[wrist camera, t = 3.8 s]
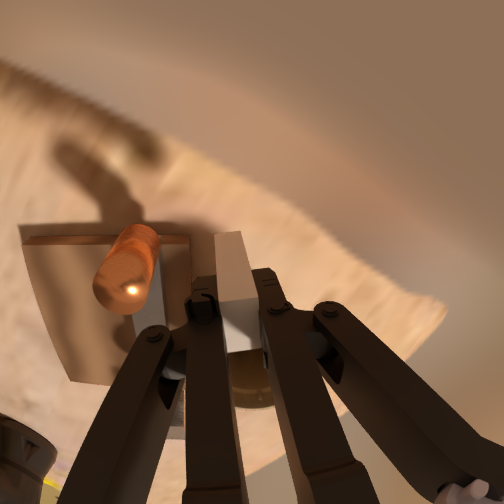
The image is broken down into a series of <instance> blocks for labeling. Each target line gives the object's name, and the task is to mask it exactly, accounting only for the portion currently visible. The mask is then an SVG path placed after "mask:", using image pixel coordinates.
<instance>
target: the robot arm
mask: <svg viewBox="0 0 504 504" xmlns="http://www.w3.org/2000/svg"><path fill="white" fill-rule="evenodd" d="M214 240H215V257H216V273H217V275H213V276H204V277H197V279H196V280H195V281H194V283H193V292H192V295H190V296H189V297H188V298H186V299H185V302H184V306H185V311H186V315H187V319H188V322H187V323H186V324H185V325H183V326H182V327H179V328H177V329H174V330H171V331H170V330H169V328H167V327H166V326H164V325H152V326H149V327H147V328H145V329H143V330H142V331H141V332H140V334H139V335H138V337H137V339H136V341H135V342H134V344H133V346H132V348H131V350H130V351H129V353H128V355H127V357H126V359H125V361H124V363H123V364H122V366H121V368H120V370H119V372H118V374H117V376H116V378H115V379H114V381H113V383H112V385H111V387H110V389H109V391H108V393H107V395H106V397H105V399H104V401H103V403H102V405H101V407H100V409H99V411H98V413H97V415H96V417H95V419H94V421H93V423H92V425H91V427H90V429H89V431H88V433H87V435H86V437H85V440H84V442H83V444H82V446H81V448H80V450H79V452H78V455H77V457H76V459H75V461H74V463H73V466H72V468H71V470H70V472H69V475H68V477H67V479H66V482H65V484H64V486H63V489H62V491H61V493H60V496H59V498H58V501H57V503H56V504H146V502H147V498H148V495H149V492H150V488H151V485H152V482H153V479H154V475H155V472H156V469H157V466H158V462H159V459H160V456H161V453H162V450H163V447H164V443H165V440H166V437H167V434H168V431H169V428H170V425H171V422H172V419H173V415H174V412H175V409H176V406H177V403H178V400H179V397H180V394H181V391H182V388H183V385H184V382H185V377H186V391H185V443H186V479H187V485H186V489H185V490H184V491H183V494H182V504H249V499H248V493H247V488H246V482H245V474H244V468H243V462H242V455H241V448H240V441H239V434H238V427H237V420H236V413H235V405H234V397H233V390H232V382H231V373H230V365H229V358H228V352H236V351H244V350H251V349H258V348H262V347H263V360H264V368H266V370H267V375H268V379H269V383H270V388H271V392H272V396H273V400H274V404H275V409H276V413H277V417H278V421H279V425H280V430H281V434H282V438H283V442H284V446H285V450H286V454H287V458H288V462H289V466H290V470H291V474H292V479H293V483H294V487H295V490H296V494H297V501H298V504H380V503H379V500H378V498H377V495H376V492H375V490H374V487H373V485H372V482H371V480H370V477H369V475H368V472H367V470H366V468H365V466H364V465H363V464H362V462H360V461H358V460H356V459H355V458H354V456H353V454H352V452H351V449H350V446H349V444H348V441H347V439H346V436H345V434H344V431H343V428H342V426H341V423H340V421H339V418H338V416H337V413H336V411H335V408H334V406H333V403H332V401H331V398H330V396H329V393H328V390H327V388H326V385H325V383H324V381H323V378H324V379H325V380H326V381H327V383H328V384H329V385H330V386H331V388H332V389H333V390H334V392H335V393H336V394H337V395H338V397H339V398H340V399H341V400H342V402H343V403H344V404H345V405H346V407H347V408H348V409H349V410H350V412H351V413H352V414H353V415H354V417H355V418H356V419H357V420H358V422H359V423H360V424H361V425H362V427H363V428H364V429H365V430H366V432H367V433H368V434H369V435H370V437H371V438H372V439H373V440H374V442H375V443H376V444H377V445H378V446H379V448H380V449H381V450H382V451H383V452H384V454H385V455H386V456H387V457H388V459H389V460H390V461H391V462H392V463H393V465H394V466H395V467H396V468H397V470H398V471H399V472H400V473H401V474H402V476H403V477H404V478H405V479H406V480H407V482H408V483H409V484H410V485H411V486H412V487H413V488H414V489H415V490H416V491H417V492H418V493H419V494H420V495H421V496H423V497H424V498H425V499H426V500H428V501H430V502H431V503H433V504H504V447H503V446H501V445H499V444H496V443H494V442H492V441H490V440H487V439H485V438H483V437H481V436H480V435H479V434H478V433H477V432H476V431H475V430H474V429H473V428H472V427H471V426H470V425H469V424H468V423H467V422H466V421H465V420H464V419H463V418H462V417H461V416H460V415H459V414H458V413H457V412H456V411H455V410H454V409H453V408H452V407H451V406H450V405H449V404H448V403H447V402H445V401H444V400H443V399H442V398H441V397H440V396H439V395H438V394H437V393H436V392H435V391H434V390H433V389H432V388H431V387H430V386H429V385H428V384H427V383H426V382H425V381H424V380H423V379H422V378H421V377H419V376H418V375H417V374H416V373H415V372H414V371H413V370H412V369H411V368H410V367H409V366H408V365H407V364H406V363H405V362H404V361H403V360H401V359H400V358H399V357H398V356H397V355H396V354H395V353H394V352H393V351H392V350H391V349H390V348H389V347H388V346H387V345H385V344H384V343H383V342H382V341H381V340H380V339H379V338H378V337H377V336H376V335H375V334H374V333H373V332H371V331H370V330H369V329H368V328H367V327H366V326H365V325H364V324H363V323H362V322H361V321H360V320H358V319H357V318H356V317H355V316H354V315H353V314H352V313H351V312H350V311H349V310H348V309H346V308H345V307H344V306H343V305H341V304H340V303H337V302H334V301H325V302H321V303H319V304H317V305H316V306H315V307H314V311H304V310H298V309H295V308H294V307H293V305H292V304H291V303H290V302H288V301H287V300H286V298H285V295H284V293H283V291H282V288H281V286H280V283H279V281H278V278H277V276H276V273H275V272H274V271H273V270H271V269H270V268H262V269H254V270H251V268H250V265H249V261H248V257H247V253H246V250H245V246H244V242H243V239H242V235H241V231H235V232H227V233H219V234H214ZM321 375H322V376H323V378H322V376H321ZM56 457H57V450H56V449H55V447H54V446H53V445H52V444H51V443H50V442H49V441H47V440H46V439H45V438H43V437H42V436H41V435H39V434H37V433H36V432H34V431H33V430H31V429H29V428H27V427H26V426H24V425H22V424H20V423H17V422H15V421H13V420H10V419H6V418H0V504H40V497H41V491H42V485H43V480H44V477H45V476H46V474H47V473H48V472H49V470H50V469H51V467H52V466H53V464H54V463H55V461H56Z"/></svg>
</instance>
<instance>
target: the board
mask: <svg viewBox="0 0 504 504" xmlns="http://www.w3.org/2000/svg"><path fill="white" fill-rule="evenodd" d="M118 237H119V235H93V236H42V237H31V238H29V239H28V240H27V241H26V242H25V243H24V244H23V245H22V249H23V254H24V258H25V262H26V265H27V269H28V273H29V276H30V280H31V283H32V286H33V290H34V293H35V296H36V299H37V302H38V305H39V308H40V311H41V314H42V316H43V319H44V322H45V324H46V327H47V330H48V332H49V335H50V337H51V340H52V342H53V344H54V347H55V349H56V351H57V354H58V356H59V358H60V360H61V363H62V365H63V367H64V369H65V371H66V373H67V375H68V377H69V379H70V381H73V382H80V383H88V384H97V385H106V386H111V385H112V383H113V381H114V379H115V378H116V376H117V374H118V372H119V370H120V368H121V366H122V364H123V363H124V361H125V359H126V357H127V355H128V353H129V351H130V350H131V348H132V346H133V344H134V342H135V341H136V339H137V337H136V333H135V328H134V323H133V318H132V314H129V315H121V314H116V313H113V312H111V311H109V310H107V309H106V308H104V307H103V306H102V305H101V304H100V303H99V302H98V300H97V299H96V297H95V295H94V292H93V288H92V283H93V278H94V276H95V274H96V273H97V271H98V269H99V267H100V266H101V264H102V262H103V261H104V259H105V258H106V256H107V254H108V253H109V251H110V249H111V248H112V246H113V245H114V243H115V241H116V240H117V238H118ZM161 238H162V255H163V268H164V280H165V291H166V302H167V311H168V320H169V328H170V331H171V330H174V329H177V328H179V327H182V326H183V325H185V324H186V323H187V322H188V319H187V315H186V311H185V306H184V302H185V299H186V298H188V297H189V296H190V295H192V288H191V258H190V235H161ZM182 390H186V377H185V382H184V385H183V388H182Z"/></svg>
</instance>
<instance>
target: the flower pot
mask: <svg viewBox="0 0 504 504" xmlns="http://www.w3.org/2000/svg"><path fill="white" fill-rule="evenodd" d="M228 358H229V365H230V373H231V382H232V390H233V397H234V405H235V409H239V410H249V411H251V410H252V411H256V410H265V409H270V408H274V407H275V404H274V400H273V396H272V392H271V388H270V383H269V379H268V375H267V370H266V368H264V360H263V347H262V348H258V349H251V350H244V351H236V352H228Z"/></svg>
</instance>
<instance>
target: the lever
mask: <svg viewBox="0 0 504 504" xmlns="http://www.w3.org/2000/svg"><path fill="white" fill-rule="evenodd" d="M92 288H93V292H94V295H95V297H96V299H97V300H98V302H99V303H100V304H101V305H102V306H103V307H104V308H106V309H107V310H109V311H111V312H113V313H116V314H121V315H129V314H132V318H133V323H134V328H135V333H136V337H138V335H139V334H140V332H141V331H142V330H143V329H145V328H147V327H149V326H152V325H164V326H166V327H167V328H169V320H168V311H167V302H166V291H165V280H164V268H163V255H162V238H161V235H157V234H156V232H155V231H154V230H153V229H151V228H150V227H148V226H146V225H142V224H133V225H130V226H128V227H126V228H125V229H124V230H123V231H122V232H121V234H120V235H119V237H118V238H117V240H116V241H115V243H114V245H113V246H112V248H111V249H110V251H109V253H108V254H107V256H106V258H105V259H104V261H103V262H102V264H101V266H100V267H99V269H98V271H97V273H96V274H95V276H94V278H93V283H92ZM169 330H170V328H169ZM166 439H183V440H185V394H184V390H182V391H181V394H180V397H179V400H178V403H177V406H176V409H175V412H174V415H173V419H172V422H171V425H170V428H169V431H168V434H167V437H166Z"/></svg>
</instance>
